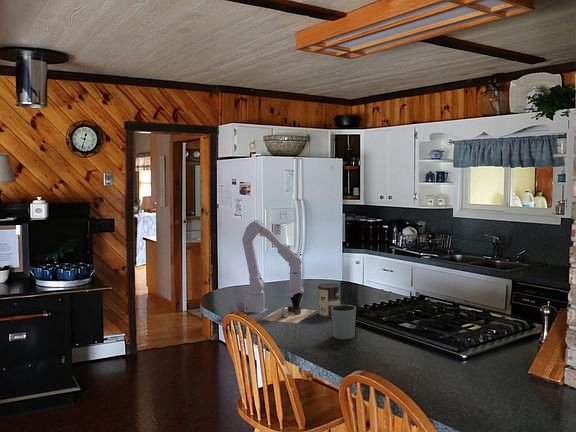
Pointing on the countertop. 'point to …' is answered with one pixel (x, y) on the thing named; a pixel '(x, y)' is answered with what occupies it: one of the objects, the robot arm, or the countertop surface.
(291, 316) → the board
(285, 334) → the countertop surface
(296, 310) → the c ring
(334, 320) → the grey cup
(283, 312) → the piston post
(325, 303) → the coffee can
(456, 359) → the countertop surface
